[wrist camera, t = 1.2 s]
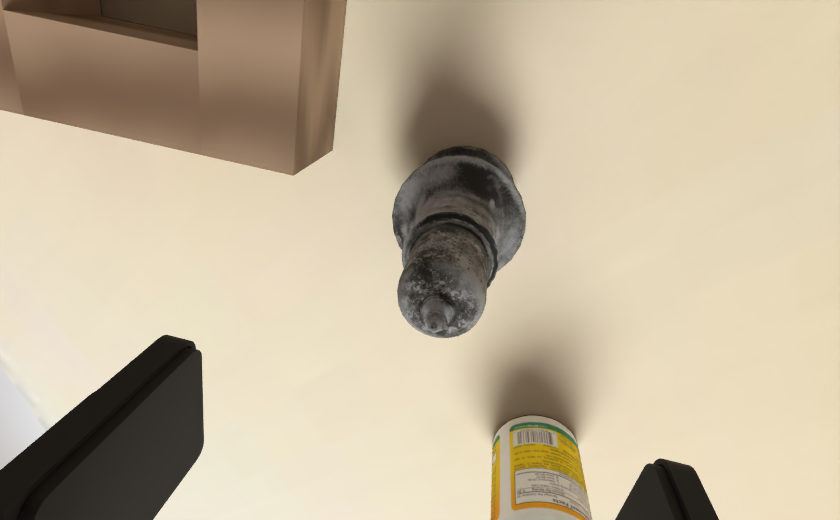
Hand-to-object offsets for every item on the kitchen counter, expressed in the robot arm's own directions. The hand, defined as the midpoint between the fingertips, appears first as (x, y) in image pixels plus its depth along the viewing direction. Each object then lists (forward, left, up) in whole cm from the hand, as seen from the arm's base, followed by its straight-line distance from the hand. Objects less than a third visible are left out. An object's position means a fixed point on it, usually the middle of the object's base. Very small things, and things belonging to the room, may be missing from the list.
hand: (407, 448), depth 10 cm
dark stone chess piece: (0, 0, -16) cm, 16 cm away
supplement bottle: (+15, +8, -16) cm, 23 cm away
